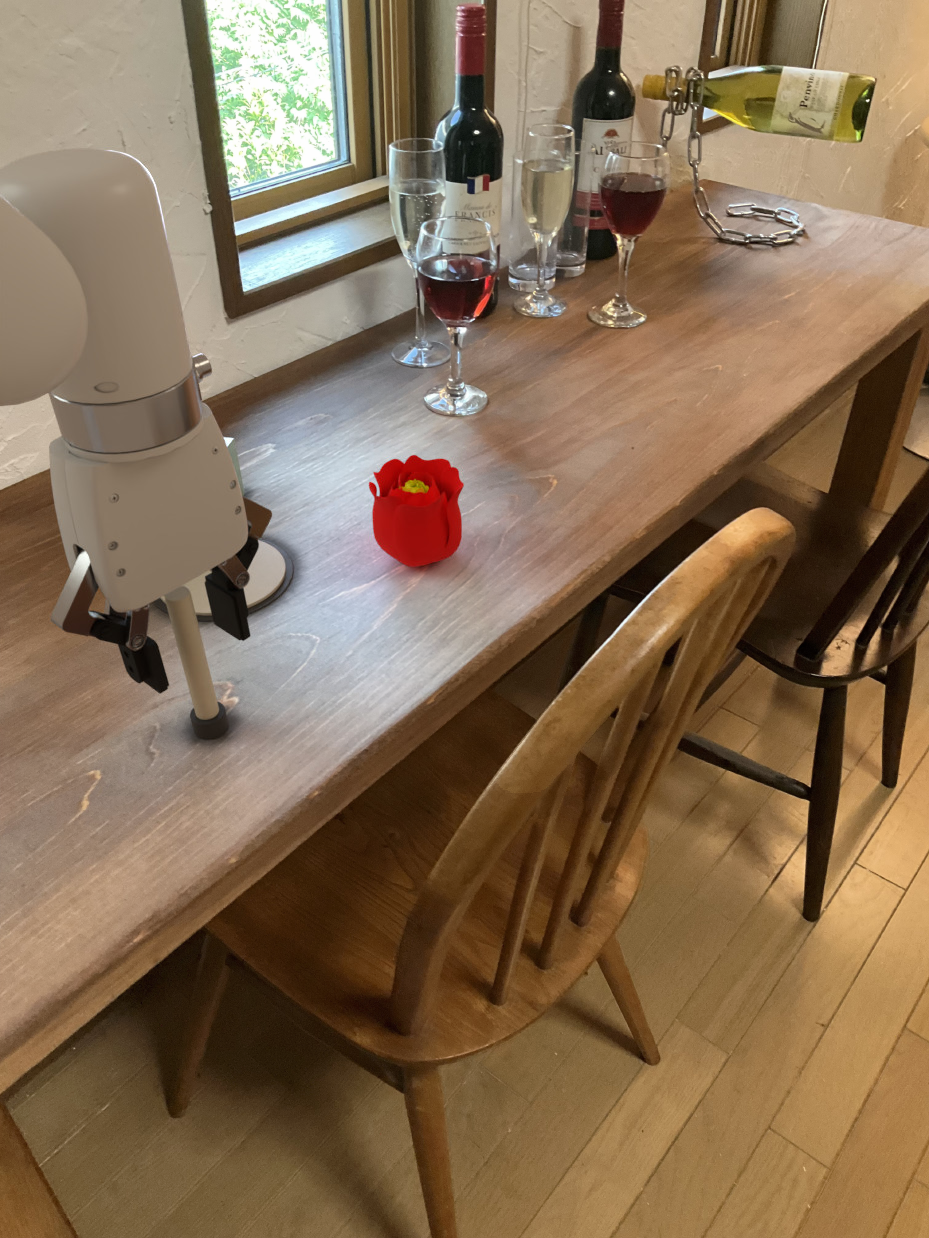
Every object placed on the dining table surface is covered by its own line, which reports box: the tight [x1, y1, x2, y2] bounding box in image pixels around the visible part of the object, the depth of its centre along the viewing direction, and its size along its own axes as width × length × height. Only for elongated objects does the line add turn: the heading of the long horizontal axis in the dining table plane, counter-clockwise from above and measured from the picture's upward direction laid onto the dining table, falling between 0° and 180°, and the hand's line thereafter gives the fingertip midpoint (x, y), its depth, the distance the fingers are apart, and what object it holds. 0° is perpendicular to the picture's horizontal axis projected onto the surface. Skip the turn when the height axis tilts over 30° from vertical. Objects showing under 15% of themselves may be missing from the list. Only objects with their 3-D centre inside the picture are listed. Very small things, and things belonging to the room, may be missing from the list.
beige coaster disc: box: [152, 538, 294, 623], centre depth 81 cm, size 12×12×1 cm
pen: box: [164, 586, 230, 741], centre depth 64 cm, size 2×2×12 cm
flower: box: [368, 454, 465, 568], centre depth 81 cm, size 8×8×8 cm
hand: (192, 653), depth 63 cm, fingers open, 5 cm apart
